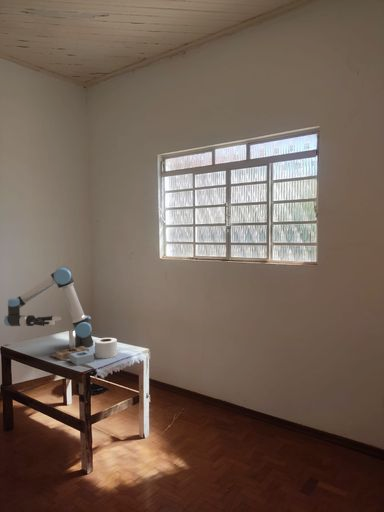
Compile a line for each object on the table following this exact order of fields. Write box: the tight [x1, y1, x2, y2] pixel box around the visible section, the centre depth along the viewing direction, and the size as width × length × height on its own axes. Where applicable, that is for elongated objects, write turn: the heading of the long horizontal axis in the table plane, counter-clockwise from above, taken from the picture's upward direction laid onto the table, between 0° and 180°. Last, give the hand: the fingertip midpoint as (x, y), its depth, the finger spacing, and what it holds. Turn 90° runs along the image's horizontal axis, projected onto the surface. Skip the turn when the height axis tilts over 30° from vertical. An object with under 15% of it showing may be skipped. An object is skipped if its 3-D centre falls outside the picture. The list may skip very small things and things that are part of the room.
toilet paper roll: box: [94, 337, 118, 359], centre depth 263 cm, size 16×15×11 cm
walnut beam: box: [55, 346, 90, 361], centre depth 261 cm, size 20×10×4 cm, turn 130°
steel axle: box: [68, 329, 76, 352], centre depth 261 cm, size 4×4×18 cm
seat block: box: [69, 350, 95, 366], centre depth 249 cm, size 12×12×5 cm
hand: (57, 320), depth 260 cm, fingers open, 13 cm apart
